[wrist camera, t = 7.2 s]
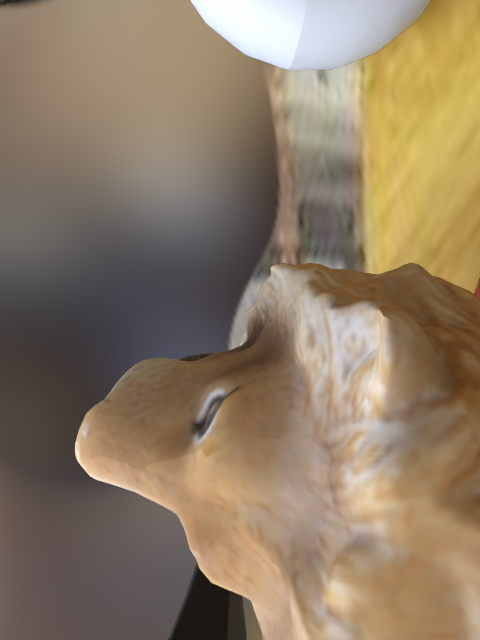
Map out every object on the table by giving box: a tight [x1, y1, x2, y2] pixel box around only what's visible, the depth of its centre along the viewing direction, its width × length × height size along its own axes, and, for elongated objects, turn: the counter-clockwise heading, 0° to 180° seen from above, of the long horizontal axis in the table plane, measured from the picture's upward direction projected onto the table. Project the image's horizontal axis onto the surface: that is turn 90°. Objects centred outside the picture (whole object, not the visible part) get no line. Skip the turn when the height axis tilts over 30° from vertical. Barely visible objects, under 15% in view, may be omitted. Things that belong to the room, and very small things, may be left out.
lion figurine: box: [75, 263, 480, 640], centre depth 7 cm, size 15×5×9 cm, turn 16°
